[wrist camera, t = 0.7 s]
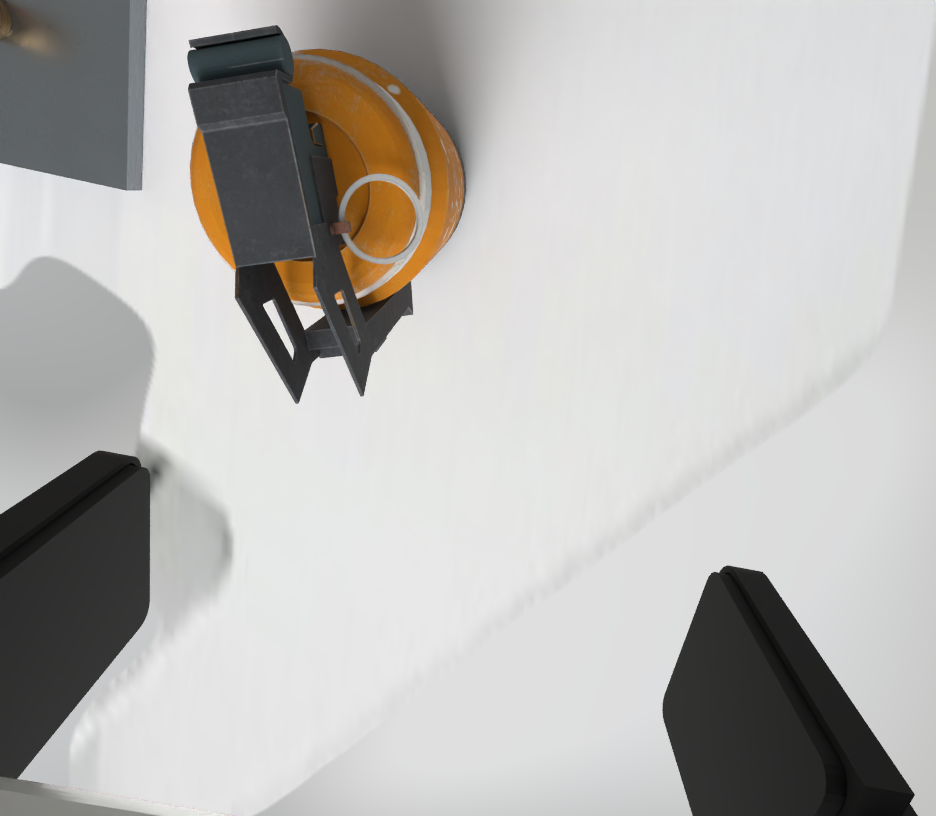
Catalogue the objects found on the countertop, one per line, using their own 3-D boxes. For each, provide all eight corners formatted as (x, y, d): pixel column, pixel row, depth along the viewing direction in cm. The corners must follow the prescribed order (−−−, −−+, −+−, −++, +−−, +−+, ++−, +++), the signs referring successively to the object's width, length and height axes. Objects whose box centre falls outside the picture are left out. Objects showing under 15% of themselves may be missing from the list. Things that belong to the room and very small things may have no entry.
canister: (454, 86, 33) (393, -49, 14) (480, 295, 36) (460, 410, 18) (290, 111, 34) (23, 16, 15) (331, 313, 37) (160, 443, 18)
